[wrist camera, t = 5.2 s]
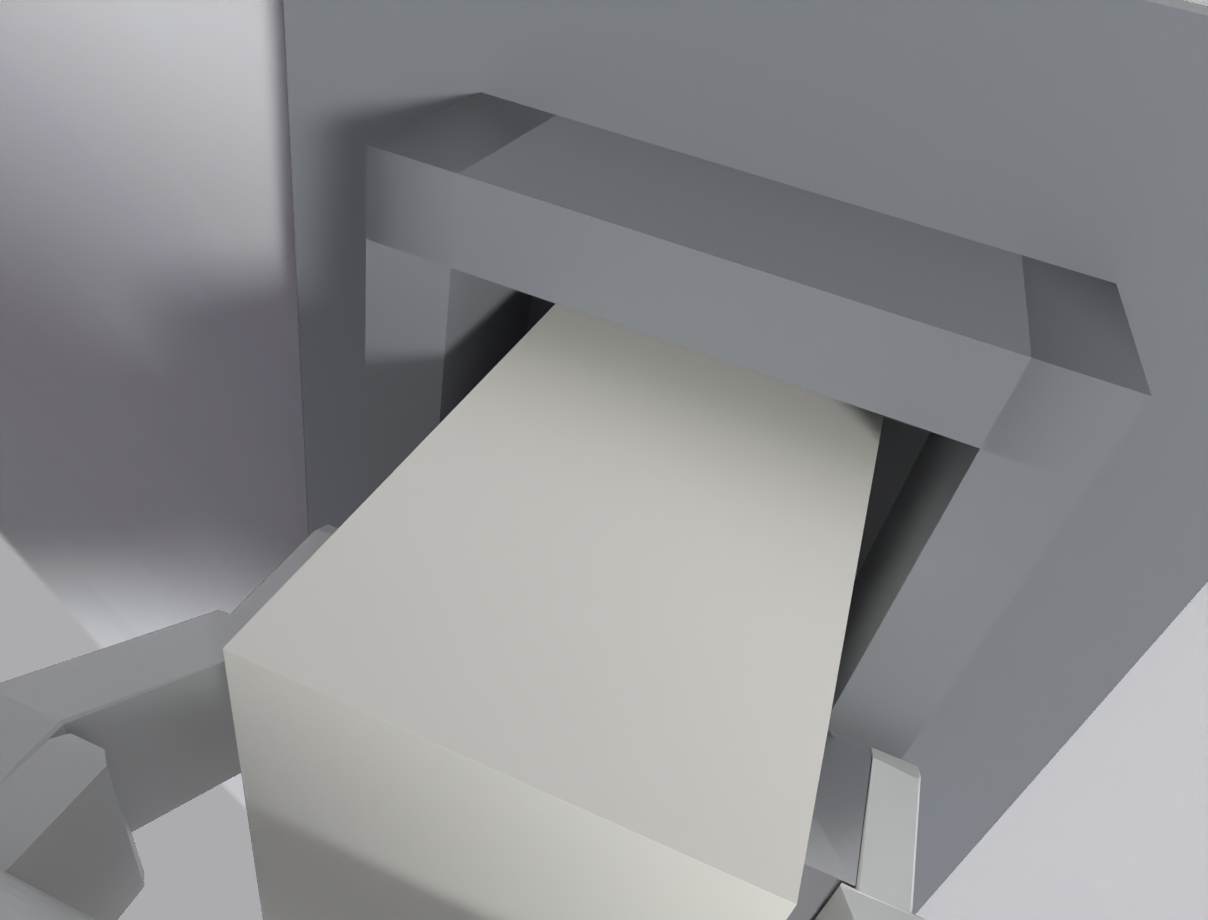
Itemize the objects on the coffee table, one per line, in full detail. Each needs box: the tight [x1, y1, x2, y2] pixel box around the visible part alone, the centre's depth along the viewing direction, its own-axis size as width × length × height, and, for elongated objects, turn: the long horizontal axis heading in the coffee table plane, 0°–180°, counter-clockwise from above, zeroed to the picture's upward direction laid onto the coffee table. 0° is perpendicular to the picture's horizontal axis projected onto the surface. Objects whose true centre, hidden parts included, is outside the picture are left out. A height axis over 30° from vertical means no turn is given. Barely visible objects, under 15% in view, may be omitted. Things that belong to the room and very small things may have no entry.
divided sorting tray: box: [283, 0, 1208, 915], centre depth 15 cm, size 23×13×4 cm, turn 168°
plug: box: [223, 304, 884, 920], centre depth 10 cm, size 6×4×7 cm, turn 168°
